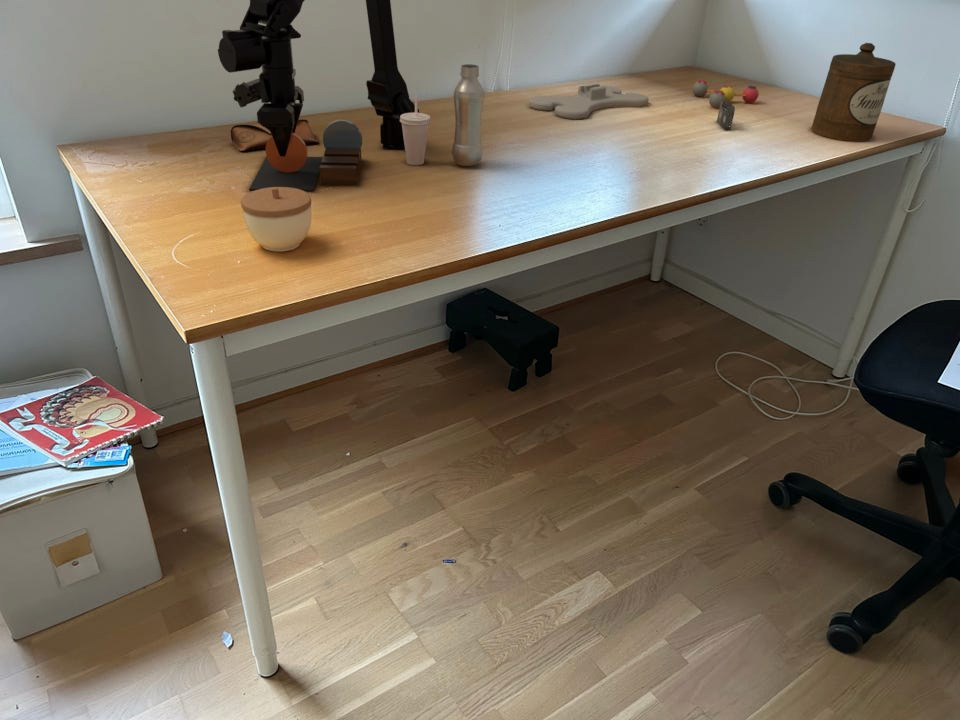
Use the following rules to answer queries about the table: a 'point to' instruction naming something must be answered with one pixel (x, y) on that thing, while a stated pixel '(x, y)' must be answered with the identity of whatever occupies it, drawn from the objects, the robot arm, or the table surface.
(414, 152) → the smoothie
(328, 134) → the blue-grey coaster
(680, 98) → the table surface
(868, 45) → the wooden container
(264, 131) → the sunglasses case
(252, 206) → the trinket box
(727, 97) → the molecule model
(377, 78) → the robot arm
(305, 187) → the grey mat
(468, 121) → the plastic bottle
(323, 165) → the coaster rack
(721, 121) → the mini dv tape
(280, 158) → the terracotta coaster
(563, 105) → the holder
